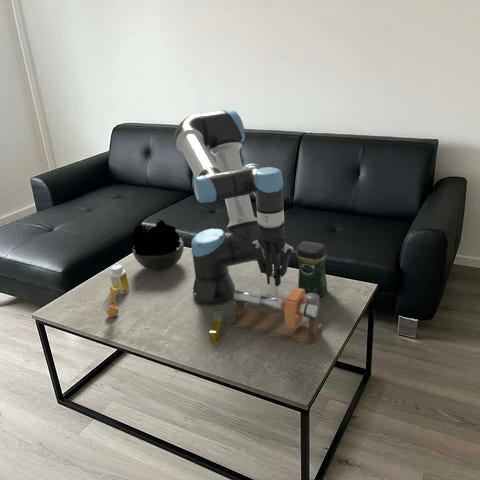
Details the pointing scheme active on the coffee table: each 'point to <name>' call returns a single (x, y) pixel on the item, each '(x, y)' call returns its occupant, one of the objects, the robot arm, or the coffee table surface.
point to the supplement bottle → (119, 279)
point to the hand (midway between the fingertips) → (274, 293)
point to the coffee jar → (312, 267)
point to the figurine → (112, 309)
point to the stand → (275, 324)
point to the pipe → (274, 303)
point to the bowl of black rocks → (158, 247)
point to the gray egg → (312, 299)
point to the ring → (293, 307)
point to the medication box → (217, 326)
